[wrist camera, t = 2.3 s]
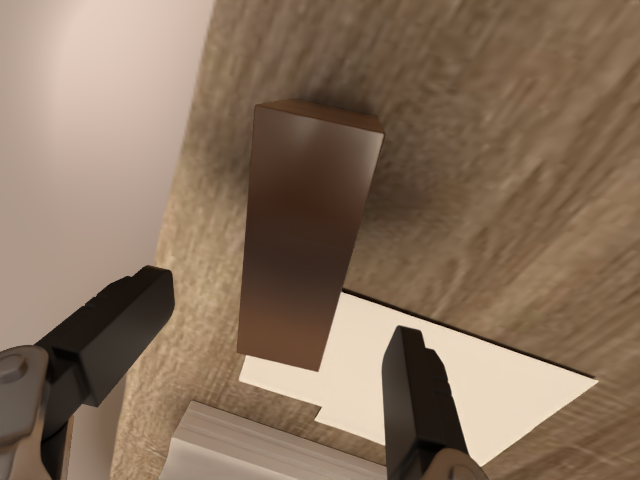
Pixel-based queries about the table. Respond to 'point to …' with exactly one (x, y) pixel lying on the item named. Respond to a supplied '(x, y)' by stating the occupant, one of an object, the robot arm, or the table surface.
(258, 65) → the table surface
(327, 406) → the paper
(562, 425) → the table surface
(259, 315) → the eraser
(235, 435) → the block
